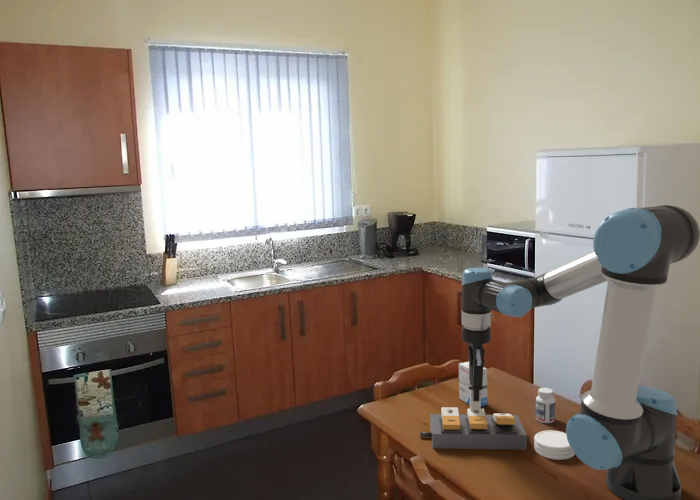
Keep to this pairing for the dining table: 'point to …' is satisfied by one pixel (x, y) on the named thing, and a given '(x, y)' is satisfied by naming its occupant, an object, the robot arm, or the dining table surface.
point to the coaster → (553, 445)
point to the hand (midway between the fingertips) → (475, 410)
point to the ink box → (465, 384)
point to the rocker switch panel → (477, 435)
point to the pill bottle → (545, 406)
